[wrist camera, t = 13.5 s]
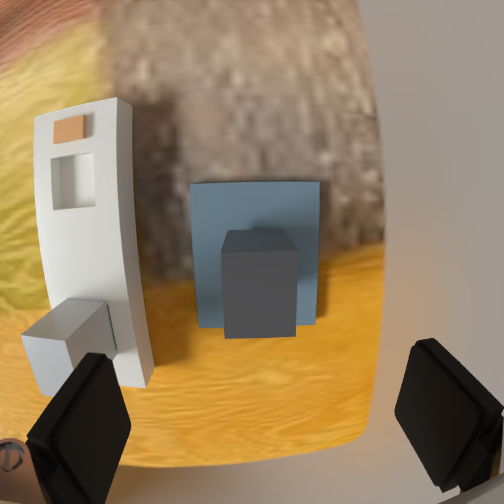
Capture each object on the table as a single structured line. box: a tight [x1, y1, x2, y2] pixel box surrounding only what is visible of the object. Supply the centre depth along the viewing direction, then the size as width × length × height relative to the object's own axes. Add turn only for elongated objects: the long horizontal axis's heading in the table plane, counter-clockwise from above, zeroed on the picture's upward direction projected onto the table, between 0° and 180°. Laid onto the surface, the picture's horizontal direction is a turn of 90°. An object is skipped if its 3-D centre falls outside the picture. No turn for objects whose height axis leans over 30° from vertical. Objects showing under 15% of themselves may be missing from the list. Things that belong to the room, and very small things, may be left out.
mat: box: [190, 181, 320, 328], centre depth 25 cm, size 12×10×1 cm
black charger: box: [221, 229, 298, 339], centre depth 21 cm, size 5×4×8 cm
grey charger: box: [21, 299, 117, 397], centre depth 21 cm, size 5×4×8 cm
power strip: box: [34, 97, 155, 388], centre depth 24 cm, size 24×8×4 cm, turn 1°
